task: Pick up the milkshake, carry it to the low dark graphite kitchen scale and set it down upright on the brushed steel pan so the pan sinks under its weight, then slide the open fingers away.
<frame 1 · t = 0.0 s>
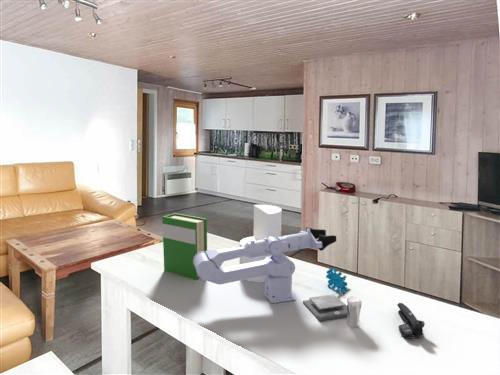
hand: (330, 235, 133), 22 cm above the table, tool horizontal, fingers open, 7 cm apart
hardback book: (185, 272, 152), on the table
scale base: (328, 309, 122), on the table
can opener: (407, 326, 113), on the table
scale pan: (327, 301, 123), point 2 cm above the table, slide at 0.0 cm
gear: (337, 289, 138), on the table
white tall piece: (259, 274, 152), on the table
milkshake: (351, 325, 112), on the table
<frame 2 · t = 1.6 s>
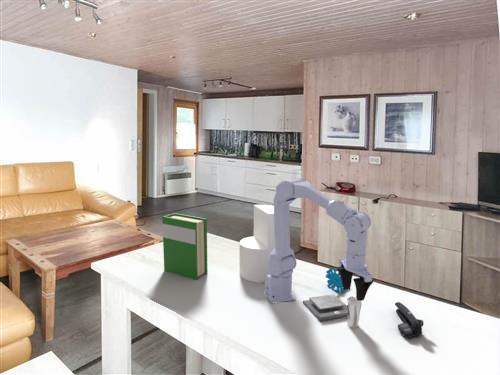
hand: (353, 294, 111), 10 cm above the table, tool pointing down, fingers open, 7 cm apart
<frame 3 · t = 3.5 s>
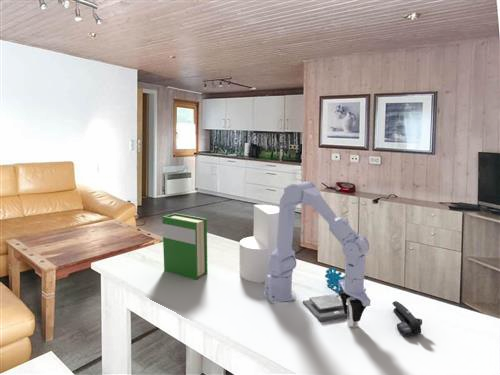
hand: (351, 316, 112), 3 cm above the table, tool pointing down, fingers closed on milkshake, 4 cm apart
milkshake: (351, 325, 112), on the table, touching gripper
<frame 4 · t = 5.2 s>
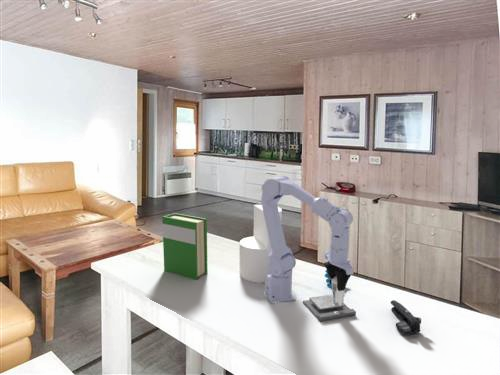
hand: (337, 286, 117), 10 cm above the table, tool pointing down, fingers closed on milkshake, 4 cm apart
milkshake: (336, 304, 118), point 3 cm above the table, touching gripper
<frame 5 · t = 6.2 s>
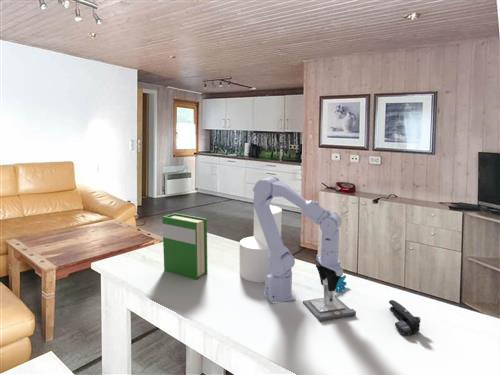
hand: (328, 287, 122), 7 cm above the table, tool pointing down, fingers closed on milkshake, 4 cm apart
scale pan: (327, 304, 123), point 1 cm above the table, slide at 1.1 cm, touching milkshake, scale base
milkshake: (327, 304, 123), point 1 cm above the table, touching gripper, scale pan
when the fingers open (6 cm above the table, at t = 7.3 s): milkshake stays where it is, resting on scale pan.
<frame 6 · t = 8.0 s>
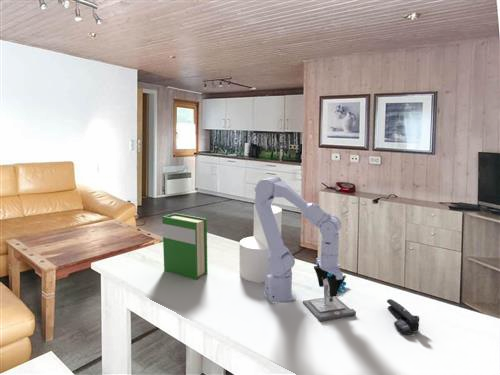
hand: (327, 291, 122), 6 cm above the table, tool pointing down, fingers open, 7 cm apart
milkshake: (327, 304, 123), point 1 cm above the table, touching scale pan
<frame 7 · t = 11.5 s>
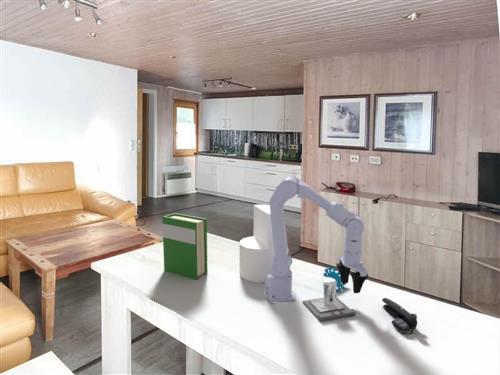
hand: (350, 287, 125), 6 cm above the table, tool pointing down, fingers open, 7 cm apart
can opener: (396, 320, 116), on the table
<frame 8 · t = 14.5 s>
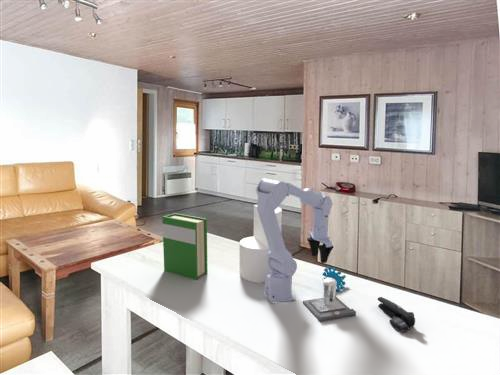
hand: (319, 259, 140), 10 cm above the table, tool pointing down, fingers open, 7 cm apart
can opener: (393, 319, 117), on the table
at the end: milkshake inside the target area on the scale base (0.3 cm from its centre), point 1.2 cm above the scale base's base; scale pan slide at 1.1 cm; milkshake tilted 0° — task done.
